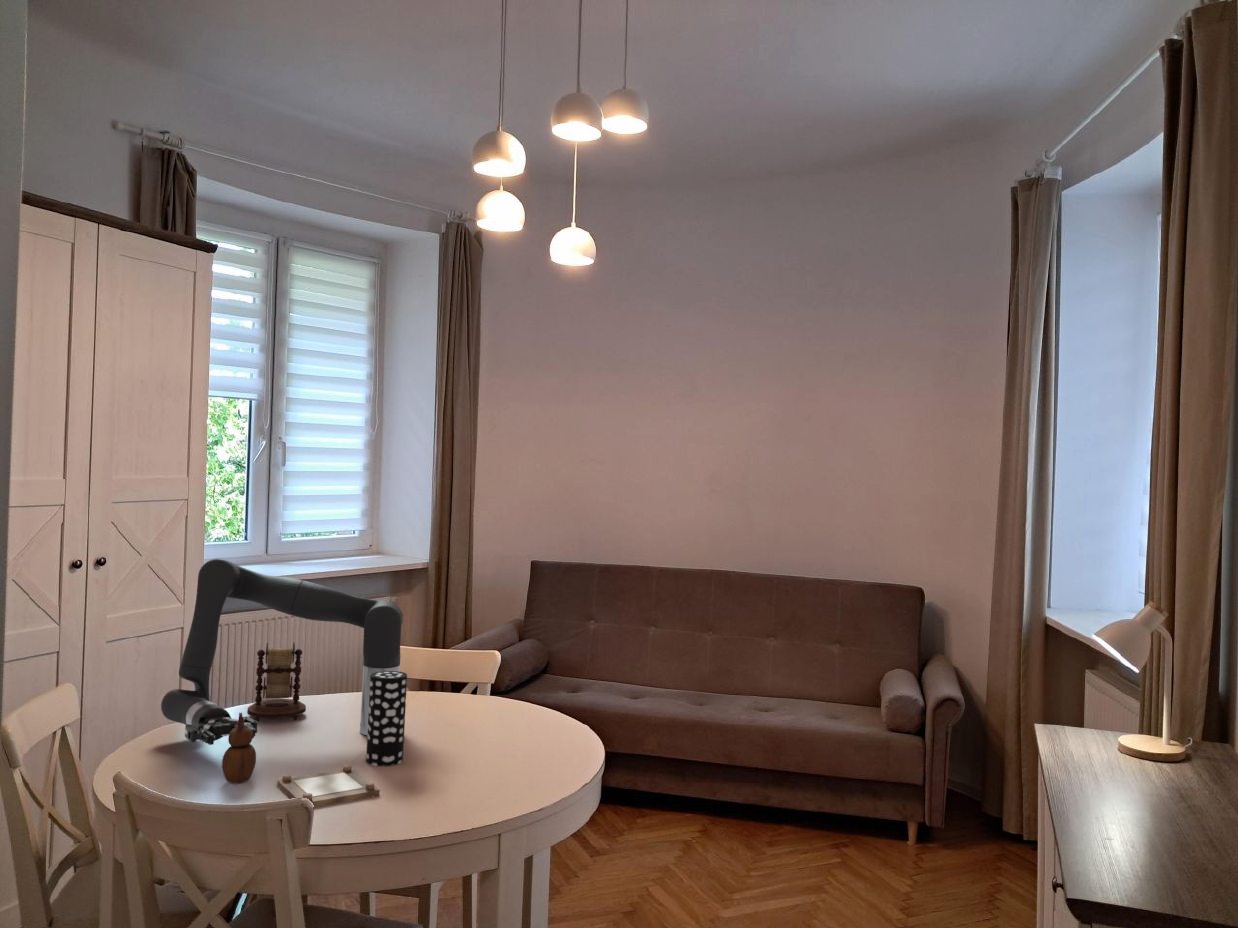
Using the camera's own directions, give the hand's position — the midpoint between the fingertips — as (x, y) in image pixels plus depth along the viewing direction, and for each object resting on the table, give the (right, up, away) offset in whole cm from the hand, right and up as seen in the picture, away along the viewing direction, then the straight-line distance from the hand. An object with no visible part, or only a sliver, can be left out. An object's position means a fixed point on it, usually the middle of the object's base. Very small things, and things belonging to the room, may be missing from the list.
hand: (232, 736), depth 196 cm
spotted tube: (+29, -10, +14) cm, 34 cm away
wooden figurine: (+3, -8, -3) cm, 10 cm away
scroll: (-8, -9, +47) cm, 49 cm away
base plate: (+23, -9, -7) cm, 26 cm away
